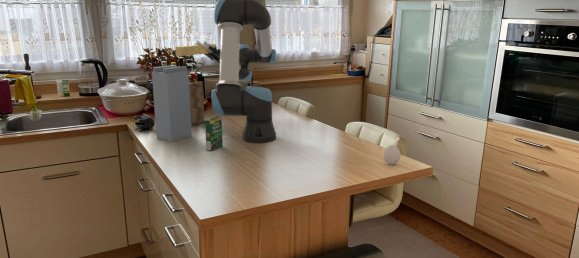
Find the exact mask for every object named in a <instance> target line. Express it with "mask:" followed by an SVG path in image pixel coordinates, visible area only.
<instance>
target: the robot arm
mask: <svg viewBox="0 0 579 258" xmlns="http://www.w3.org/2000/svg"><path fill="white" fill-rule="evenodd" d="M214 6H215V7H214V11H213V12H214V14H213V15H214V18H213V19H214V24H215V25H216V26H217V28H218V29H219V31H220V46H219V47H220V48H218V47H217V46H216V47H215V48H214V47H212V46H211V45H209V44H210V43H208V42H207V41H203V43H201V42H200V41H199V40H197V41H196V43H195V45H203V46H202V47H204V48H205V49H206V50H208V51H209V52H211V53H209V54H203V55H205V56H206V57H207V58H208V59H210V60H211V61H216V62H217V63H218V64H219V76H218V77H219V81H218V82H217V83H216V84H215V88H214V89H212V90H211V93H210V95H211V96H210V97H211V105H212V110H213V112H214V113H215V115H216V116H222V117H223V116H224V117H228V116H231V117H232V116H233V117H234V116H237V117H241V116H243V117H245V120H246V121H245V126H244V129H243V133H242V140H243V141H245V142H249V143H268V142H273V141H275V140H276V139H277V132H276V130H275V127H274V123H273V95H272V94H273V93H272V91H271V90H270V88H266V87H262V86H255V85H248V86H246V87H245V89H242V88H243V87H242V85H241V83H240V82H239V81H241V82H243V83H247V82H249V81H250V80H251V79H252V77H253V72H252V71H251V69H250V64H274V63H276V62H277V50H276V49H274V48H272V38H271V30H270V29H271V28H270V26H271V23H272V17H271V14H270V12H269V10H268V9H267V7H266V6H265V5H264V4H263V3H262V2H260V1H259V0H217V1H216V4H215V5H214ZM245 25H246V26H249V25H251V27H252V28H253V30H254V35H255V43H256V47H257V48H250V46H249V45H248V44H244V43H240V41H241V40H240V37H241V33H242V31H243V30H244V26H245ZM212 52H213V53H212Z"/></svg>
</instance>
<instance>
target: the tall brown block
mask: <svg viewBox="0 0 579 258" xmlns="http://www.w3.org/2000/svg"><path fill="white" fill-rule="evenodd" d="M189 94H190V113H191V126H192V125H197V124H199V123H205V105H204V104H205V103H204V82H203V81H195V82H192V80H191V79H189Z"/></svg>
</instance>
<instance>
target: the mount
mask: <svg viewBox="0 0 579 258" xmlns="http://www.w3.org/2000/svg"><path fill="white" fill-rule="evenodd" d="M151 79H152V80H151V81H152V95H153V103H154V104H153V107H154V122H155V135H156V139H160V140H163V141H167V142H170V143H172V142H174V141H178V140H182V139H185V138H189V137H192V125H191V113H190V94H189V80H190V78H189V70H188V69H187V66H185V65H182V66H177V65H176V64H173V65H165V66H155V67H152V71H151Z"/></svg>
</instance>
